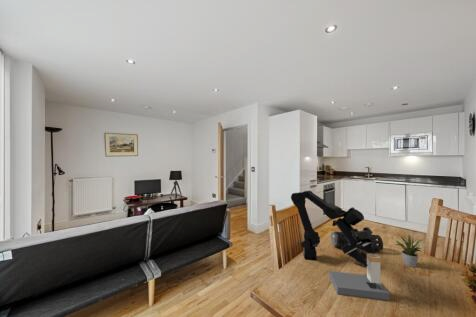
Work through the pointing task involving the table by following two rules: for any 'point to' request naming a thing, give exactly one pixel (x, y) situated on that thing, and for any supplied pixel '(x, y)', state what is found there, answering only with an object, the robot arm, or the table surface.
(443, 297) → the table surface
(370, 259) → the plug
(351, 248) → the robot arm
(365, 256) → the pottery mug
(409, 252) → the house plant
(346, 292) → the socket block
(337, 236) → the muzzle brake
